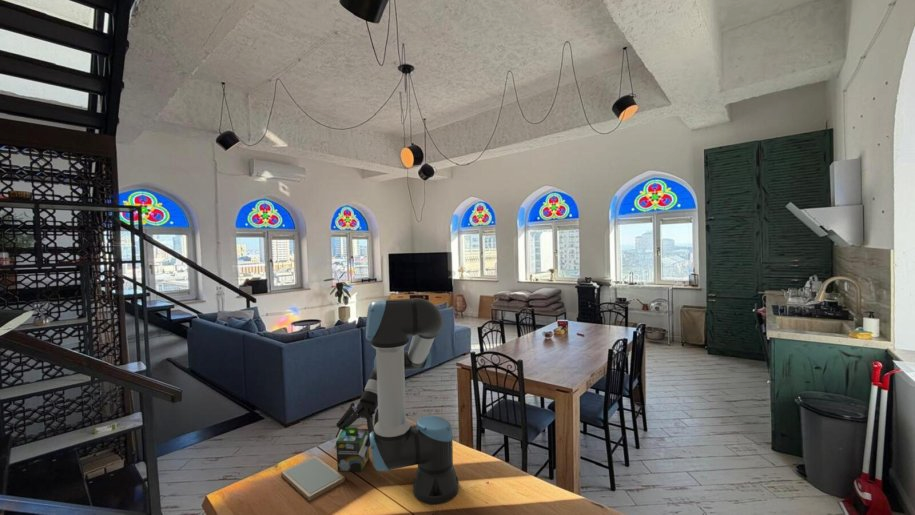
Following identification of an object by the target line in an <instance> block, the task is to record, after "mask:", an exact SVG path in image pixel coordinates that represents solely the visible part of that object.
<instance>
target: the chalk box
mask: <svg viewBox="0 0 915 515" xmlns="http://www.w3.org/2000/svg"><path fill="white" fill-rule="evenodd" d="M367 434H368V428H358V427H355V426H352V427H351V426H349V427H345V430H344V431H343V433H342V434H341V435H340V437H339V438H338V440H337V441H336V440H335V441H336V449H335V450H336V463H337V472H353V473H354V472H357V473H361V472H362V471H363V470H364V468H365V466H366V464H367V462H368V461H369V459H370V446H369V447H367V450H366V452H365V455H364V457H362V456H360V455H358V454H359V451H360V449H361V446H362V444H363V442H364V439H365V437H366V436H368V435H367Z"/></svg>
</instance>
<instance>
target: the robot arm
mask: <svg viewBox="0 0 915 515" xmlns="http://www.w3.org/2000/svg"><path fill="white" fill-rule="evenodd" d="M365 322H366V323H365V328H366V329H365V338H366V340H368V341H370V345H371V347H372V348H373V349H374V350H375V353H376V355H375V357H374V360H373V369H372V372H371V374H370V376H369V378H368V380H367V382H366V384H365V387H364V391H363V392H362V394H361V396H360V398H359V399H360V400H359V402H358V404H356V403H355V402H350V406H349V407H348V409H347V410H346V411H345V413H344V414H343V415H342V417H340V419H339V420H338V421H337V423H336V424H335V425H336V427H337V428H338V431H337V433H336V435H335V441H334V443H333V445H332V448H333V449H335V450H336V441H337V440H338V438H339V437H340V435H341V434H342V433H343V431H344V430H345V427H351V425H352V424H353V423H355V422H356V421H357V420H359V419H360V418H362V419H366V422H367V423H366V426H367V427H366V428H367V429H368V434H367V435H368V436H366V437H365V439H364V442H363V444H362V446H361V449H360V451H359V454H358V455H360V456H362V457H364V455H365V452H366V450H367V447H369V448H370V449H371V457H372V461H373V466H374V469H375V470H376V471H377V472H383V471H392V470H396V469H401V468H402V469H403V468H406V467H411V466H417V469H416V473H415V477H414V479H413V481H412V491H413V496H414V497H415V498H416V499H417V500H418V501H420V502H422V503H425V504H428V505H441V504H444V503H448V502H449V501H451V500H452V499H454V498H455V497H456V495H457V494H458V493H459V486H460V485H459V478H458V475H457V473H456V471H455V466H454V463H453V462H454V460H453V458H454V457H453V456H454V450H453V447H454V445H453V440H454V435H453V428H452V425H451V422H449V420H447V419H445V418H443V417H441V416H436V415H425V416H422V417H419V418H418V420H417V421H416V423H415V425H412V424H411V422H410V420H409V419H408V418H406V385H405V384H406V379H405V377H406V376H405V371H413V370H414V371H415V370H423V369H428V368H430V367H431V365H432V355H431V348H432V345H433V343H434V340H435V339H436V338H437V337H438V336H439V334H440V333H441V331H442V328H443V323H444V320H443V316H442V313H441V311H440V310H439V308H438V307H437V306H436V305H435V304H434V303H432V302H431V301H430V300H427V299H424V298H421V297H413V298H396V299H394V298H393V299H382V300H376V301H375V300H374V301H372V302H370V303H369V305H368V308H367V314H366V321H365ZM410 337H412V339H411V341H410V339H409V338H410ZM409 341H410V344H409ZM407 345H409V348H408V350H405V348H406V346H407ZM373 415H374V416H373ZM373 421H374V423H373Z"/></svg>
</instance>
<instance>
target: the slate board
mask: <svg viewBox="0 0 915 515" xmlns="http://www.w3.org/2000/svg"><path fill="white" fill-rule="evenodd" d="M280 474H281V477H282V478H283V479H285V480H286V481H287V483H289V484H290V485H291V486H292V487H293V488H294V489H295V490H296V491H298V492H299V494H301V495H302V496H303V497H304V498H305V499H306V498H307V499H306V500H308V502H310V501H312V500H315V498H318V497H319V496H321V495H323V494H324V493H326V492H328V491H330V490H331V489H333V488H335V487H336V486H339V485H341V484H342V483H344V482H345V481H346V480H345V479H346V478H345V476H344V475H343V474H341V473H340V472H339V471H338V470H336V469H334V468H333V467H332V466H330V465H329V464H328V463H326V461H324V460H322V459H321V458H319V457H318V456H317V455H313V456H312V457H310V458H308V459H305V460H303V461H301V462H299V463H297V464H295V465H293V466H291V467H288V468H287V469H284V470H282V471H281V472H280Z"/></svg>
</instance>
